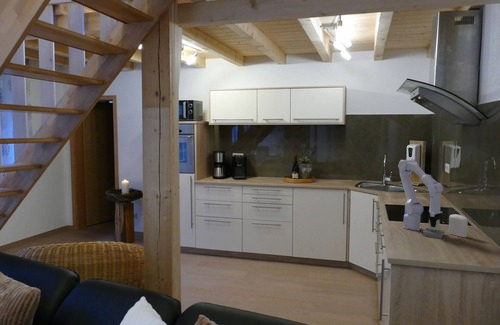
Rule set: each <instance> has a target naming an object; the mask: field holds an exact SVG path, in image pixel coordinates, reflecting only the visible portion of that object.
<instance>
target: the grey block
mask: <svg viewBox="0 0 500 325" xmlns="http://www.w3.org/2000/svg"><path fill="white" fill-rule="evenodd" d="M428 228H429V227H425V229H423V231H422V237H426V238H427V237H428V238H434V239H443V237H444V236H445V230H444V229H438V230H434V229H428Z"/></svg>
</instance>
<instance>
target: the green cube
mask: <svg viewBox="0 0 500 325" xmlns="http://www.w3.org/2000/svg"><path fill="white" fill-rule="evenodd" d="M427 228H428V229H434V230H440V219H438V220H437V222H436V226H435V227H431V224H430V220H429V219H428V227H427Z"/></svg>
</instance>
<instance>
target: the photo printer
mask: <svg viewBox="0 0 500 325" xmlns="http://www.w3.org/2000/svg"><path fill="white" fill-rule="evenodd" d="M468 222H469V221H468V218H467V217H465V216H464V215H461V214H455V213H454V214H450V215H449V218H448V234H450V235H453V236H456V237H462V238H467V236H468V225H469V224H468Z"/></svg>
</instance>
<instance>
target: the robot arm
mask: <svg viewBox="0 0 500 325" xmlns="http://www.w3.org/2000/svg"><path fill="white" fill-rule="evenodd" d="M397 168H398V171H399V177H400V179H401V184H402V186H403V190H404V194H405V197H406V200H407V201H406V202H405V204H404V205H405V206H404V208H405V213H404V215H403V225H402V228H403V229H405V230H413V231H418V232H419V231H420V230H421V229H422V226H421V215H422V214H423V212H424V206H423V204H422V203H421V201H420V200H419V199H418V198H417V196H416V193H415V189H414V186H413V183H412V180H411V176H410V175H411V173H412V172H414V173H415V174H416V175H417V176H418V177H419V178H420V180H421V181H420V182H422V183H423V184H424V185H425V186H426V187H427V190H428V193H429V209H428V212H429V214H428V215H427V217H428V221H429V220H430V224H431V227H435V226H436V222H437V220H440V217H441V215H442V213H443V211H442V210H441V202H442V200H441V199H442V193H443V192H444V188H445V187H444V185H443V184H442V183H441V182H438V181H436V180H435V179H434V178H433V177H432V175H431V174H427V173H425V171H423V169H422V168H421V166H419V164H418V162H417V161H416V160H415V159H412V158H411V159H400V161H398V165H397Z"/></svg>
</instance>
